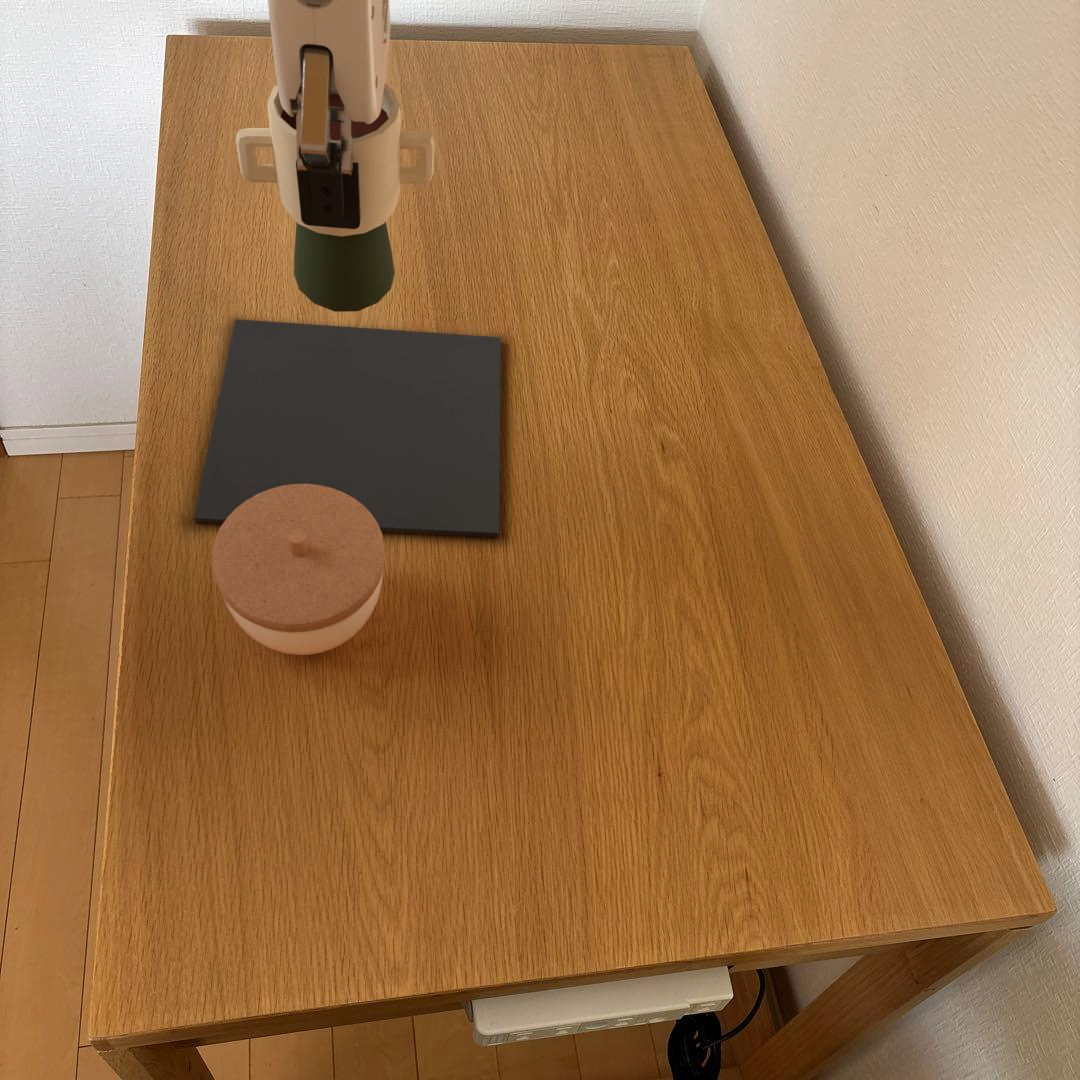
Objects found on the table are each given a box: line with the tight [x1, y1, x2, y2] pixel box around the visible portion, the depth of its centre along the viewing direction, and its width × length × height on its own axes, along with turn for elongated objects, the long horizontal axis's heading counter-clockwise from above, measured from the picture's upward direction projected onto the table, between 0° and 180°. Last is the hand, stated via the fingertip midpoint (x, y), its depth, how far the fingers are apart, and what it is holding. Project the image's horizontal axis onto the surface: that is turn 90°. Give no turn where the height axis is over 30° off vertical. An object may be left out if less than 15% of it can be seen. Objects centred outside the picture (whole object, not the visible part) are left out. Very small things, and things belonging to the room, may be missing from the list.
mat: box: [193, 318, 502, 538], centre depth 80 cm, size 22×20×1 cm
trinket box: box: [211, 484, 386, 656], centre depth 67 cm, size 11×11×9 cm
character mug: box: [235, 83, 436, 313], centre depth 61 cm, size 11×7×13 cm, turn 97°
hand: (338, 176), depth 59 cm, fingers closed on character mug, 7 cm apart
